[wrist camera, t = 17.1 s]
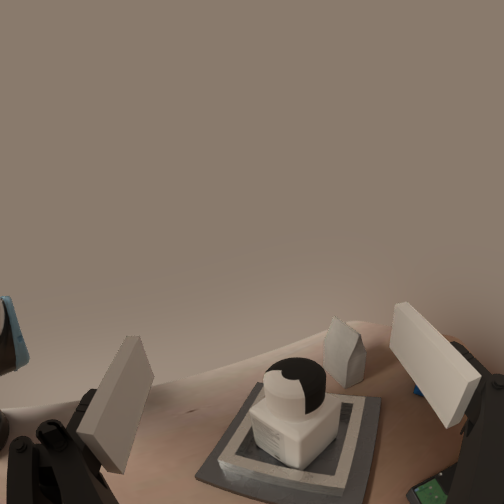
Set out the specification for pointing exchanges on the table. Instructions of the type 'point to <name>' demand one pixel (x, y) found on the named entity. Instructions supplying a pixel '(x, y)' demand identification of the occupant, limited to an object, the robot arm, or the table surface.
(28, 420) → the table surface
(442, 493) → the disk drive
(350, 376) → the tea bag
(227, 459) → the collar plate
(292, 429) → the container
